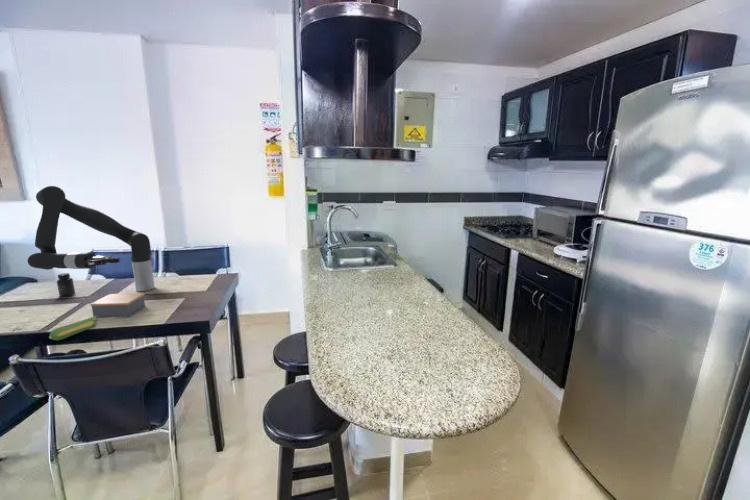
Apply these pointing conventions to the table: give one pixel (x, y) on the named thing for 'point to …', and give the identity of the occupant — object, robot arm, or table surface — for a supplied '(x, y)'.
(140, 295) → the panel
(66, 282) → the supplement bottle
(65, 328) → the edible corn
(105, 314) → the duct box
